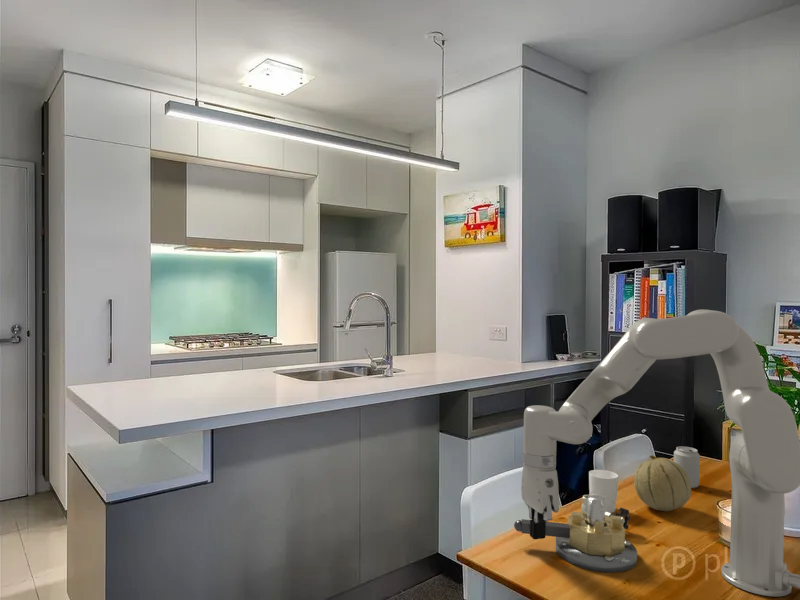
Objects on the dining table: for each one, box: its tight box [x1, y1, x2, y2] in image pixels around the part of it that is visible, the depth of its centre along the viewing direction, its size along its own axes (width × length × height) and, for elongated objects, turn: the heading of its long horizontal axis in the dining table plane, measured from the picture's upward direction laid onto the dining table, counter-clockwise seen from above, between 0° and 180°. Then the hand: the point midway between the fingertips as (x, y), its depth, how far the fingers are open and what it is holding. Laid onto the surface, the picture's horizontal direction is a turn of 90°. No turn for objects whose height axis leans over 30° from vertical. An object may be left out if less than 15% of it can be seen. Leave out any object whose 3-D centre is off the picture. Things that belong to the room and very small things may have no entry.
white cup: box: [588, 469, 619, 514], centre depth 156 cm, size 8×8×10 cm
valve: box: [580, 494, 631, 530], centre depth 145 cm, size 7×7×12 cm
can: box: [673, 446, 701, 489], centre depth 177 cm, size 8×8×12 cm
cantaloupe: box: [633, 454, 692, 512], centre depth 157 cm, size 15×15×15 cm
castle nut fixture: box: [513, 511, 626, 556], centre depth 131 cm, size 25×12×7 cm, turn 78°
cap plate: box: [555, 494, 638, 574], centre depth 129 cm, size 18×18×13 cm
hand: (537, 537), depth 129 cm, fingers closed
